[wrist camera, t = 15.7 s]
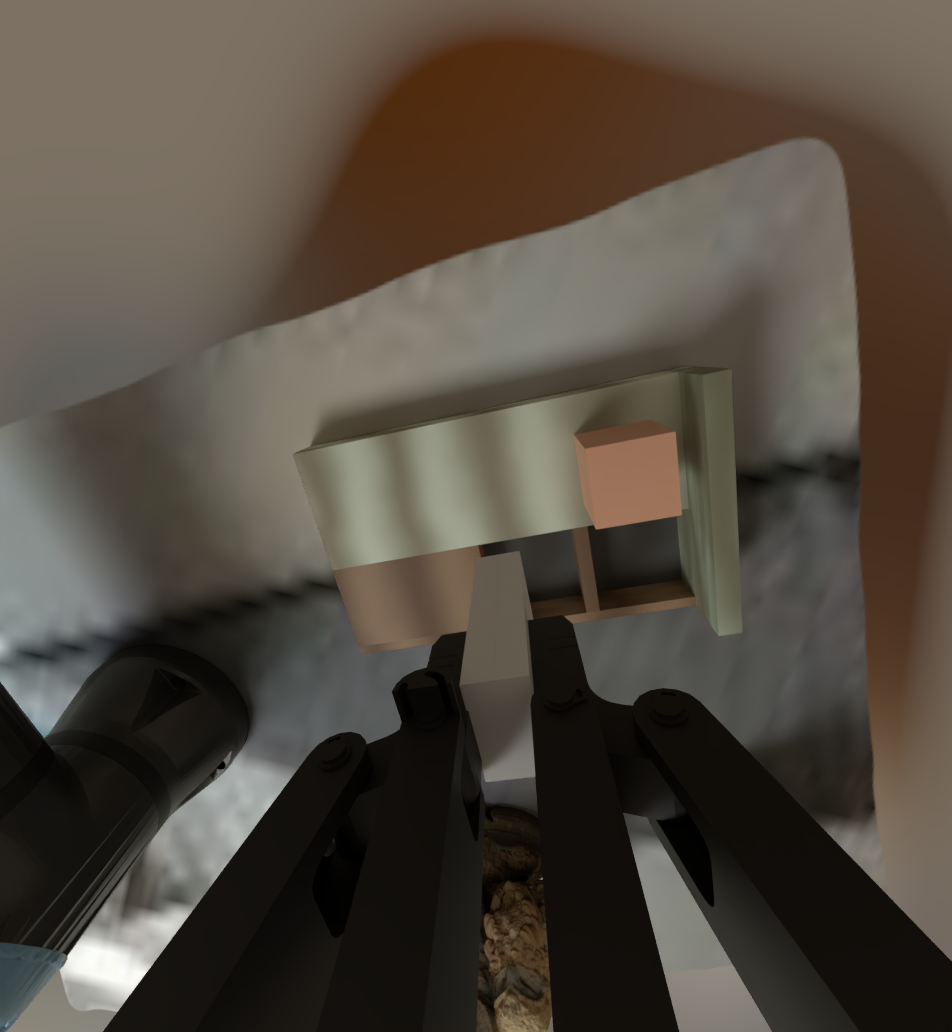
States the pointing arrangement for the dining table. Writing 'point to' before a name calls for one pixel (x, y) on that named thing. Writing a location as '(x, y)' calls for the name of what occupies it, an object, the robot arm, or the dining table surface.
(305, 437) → the dining table surface
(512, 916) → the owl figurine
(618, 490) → the terracotta block
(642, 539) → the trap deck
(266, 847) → the robot arm
